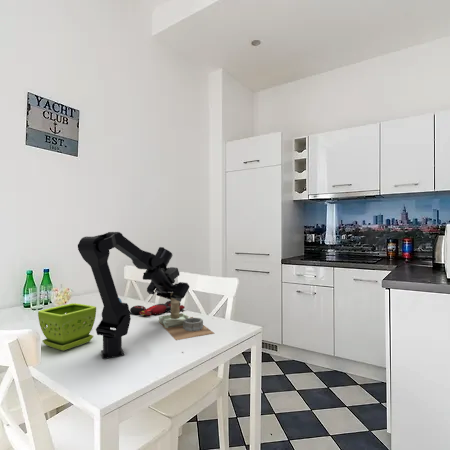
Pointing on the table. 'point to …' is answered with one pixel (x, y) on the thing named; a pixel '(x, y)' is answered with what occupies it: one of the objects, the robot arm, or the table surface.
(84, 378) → the table surface
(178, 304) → the dowel
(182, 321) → the stand
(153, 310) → the toy motorcycle
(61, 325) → the flower pot
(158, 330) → the table surface
